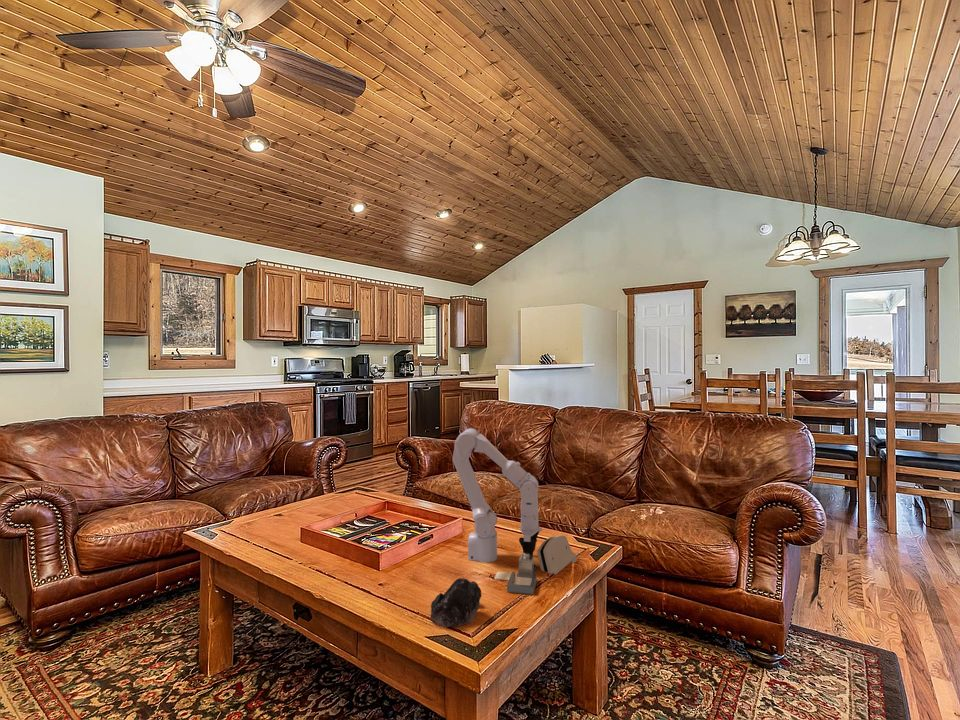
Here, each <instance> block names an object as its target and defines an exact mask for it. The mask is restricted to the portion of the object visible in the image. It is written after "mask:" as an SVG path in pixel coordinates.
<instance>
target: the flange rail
mask: <svg viewBox="0 0 960 720" xmlns="http://www.w3.org/2000/svg"><path fill="white" fill-rule="evenodd" d="M536 570H537V564H535V563H534V568H533V572H532V574H530V573H519V569H518V570H517V573H516V571H511V572H510V573H511V576H510V578H509V580H507V581H508V582H507V585H506V593H511V594H519V595H520V594H521V595H532V596H534V594H535V589H536V585H537V581H538V574H537V573H535V572H536Z"/></svg>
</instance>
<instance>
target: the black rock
mask: <svg viewBox="0 0 960 720" xmlns="http://www.w3.org/2000/svg"><path fill="white" fill-rule="evenodd" d="M482 595H483V594H482V589H481V588H480V586H479V584H477V582H476V581H469V580H468V579H467V578H465V577H462V578H461V577H459V578H457V579H455V580H454V581H453V583H451V585H450V586H449V588H448V589H447V590H446V591H445V593H442V592H440V593H439V594H437V595H436V597H434V598H435V599H433V601H432V602H431V604H430V615H429V617H430V620H431V621H433V622H434V623H436V624H437V625H439V626H442V627H444V628H448V627H451V628H455V627H460V626H464V625H466V624H470V623H472V622H474V621H475V619H476V616H477V614H478V610H479V608H480V601H481V598H482Z"/></svg>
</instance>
